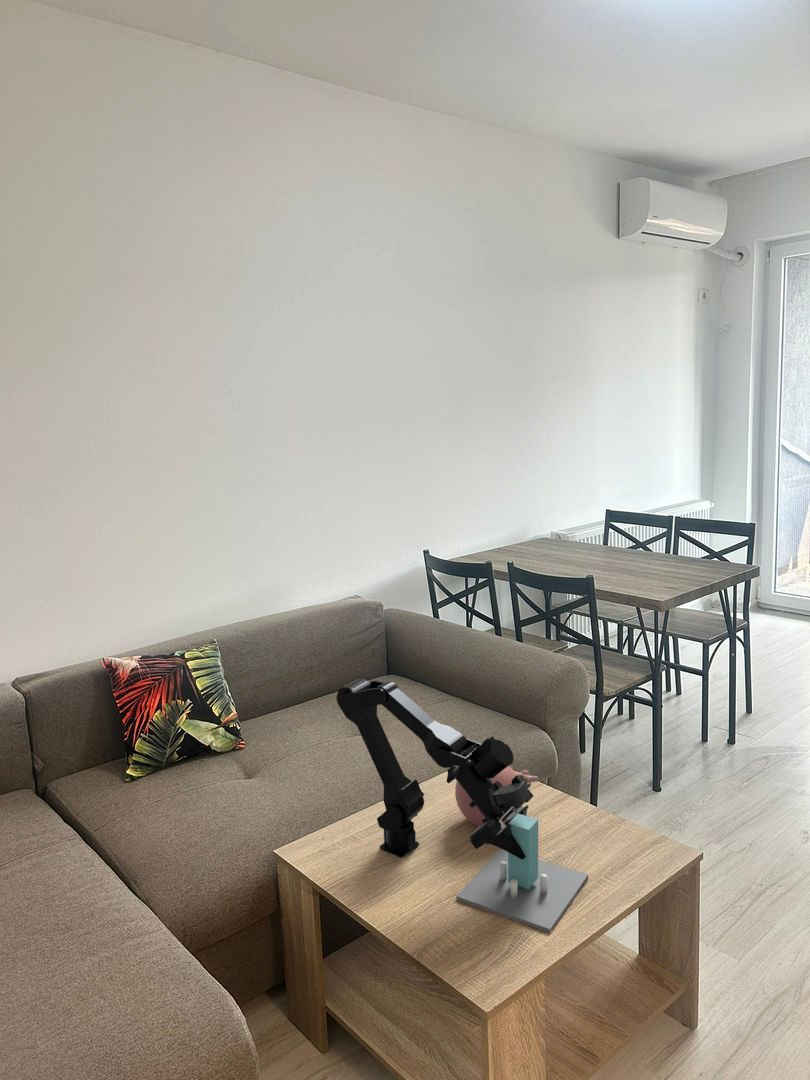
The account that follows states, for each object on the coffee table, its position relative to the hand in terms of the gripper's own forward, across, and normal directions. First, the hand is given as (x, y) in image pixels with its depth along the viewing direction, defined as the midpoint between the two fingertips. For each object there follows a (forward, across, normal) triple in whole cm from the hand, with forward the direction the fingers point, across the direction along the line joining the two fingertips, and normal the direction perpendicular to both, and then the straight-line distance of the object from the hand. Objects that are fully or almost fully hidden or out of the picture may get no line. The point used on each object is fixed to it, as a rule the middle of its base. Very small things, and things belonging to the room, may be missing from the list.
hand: (529, 852), depth 166 cm
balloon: (-6, +21, +18) cm, 28 cm away
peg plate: (+5, 0, +7) cm, 9 cm away
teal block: (+4, 0, +6) cm, 7 cm away
